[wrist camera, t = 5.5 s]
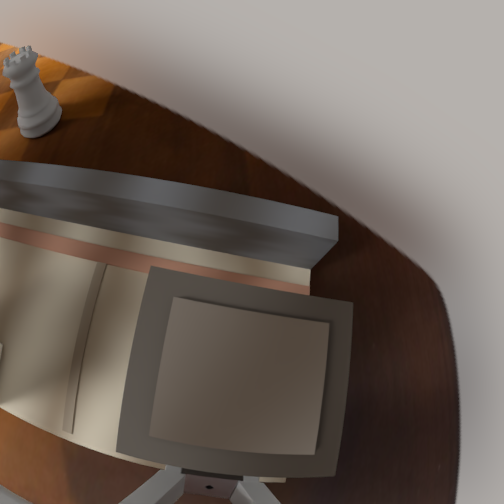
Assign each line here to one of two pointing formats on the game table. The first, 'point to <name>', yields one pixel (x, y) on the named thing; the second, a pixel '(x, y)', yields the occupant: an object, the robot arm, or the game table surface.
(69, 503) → the game table surface
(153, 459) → the ebony key
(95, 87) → the game table surface
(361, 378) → the game table surface
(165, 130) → the game table surface
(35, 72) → the rook chess piece
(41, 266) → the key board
